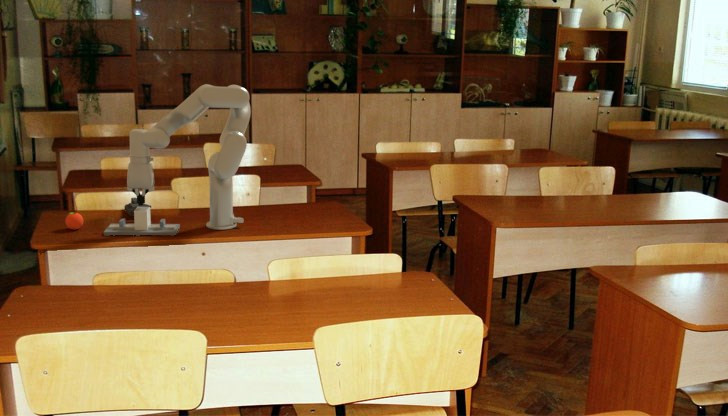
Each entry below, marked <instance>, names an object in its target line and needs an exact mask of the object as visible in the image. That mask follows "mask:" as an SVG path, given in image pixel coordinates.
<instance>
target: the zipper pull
mask: <svg viewBox="0 0 728 416" xmlns="http://www.w3.org/2000/svg"><path fill="white" fill-rule="evenodd" d="M137 207H150V209H151V208H152V205H150V204H146V203H144V204H143V206H141V205H140V206H138V203H137V197H131V198H130V202H129V203H127V204H125V205H124V207H123V209H124V211H125V210H126V211H127V212H128V213H127V212H126V211H125V212H126V213H127V214H128V215H129V216H134V210H135V209H136V208H137Z"/></svg>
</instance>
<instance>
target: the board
mask: <svg viewBox="0 0 728 416" xmlns="http://www.w3.org/2000/svg"><path fill="white" fill-rule="evenodd" d="M110 225H119V223H110V224H109V225H108V226H107V227H106V228H105V230H104V231H103V236H105V237H106V236H110V235H113V236H115V235H133V236H134V235H136V237H139V236H140V235H176V236H177V234H176V233H178V232H179V230H180V228H181V224H180V223H165V225H176V227H175V229H148V230H135V229H109V226H110ZM125 225H135V223H125ZM151 225H160V223H151ZM178 229H179V230H178ZM177 231H178V232H177ZM133 236H132V237H133ZM115 237H116V236H115ZM134 237H135V236H134ZM140 237H141V236H140Z"/></svg>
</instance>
